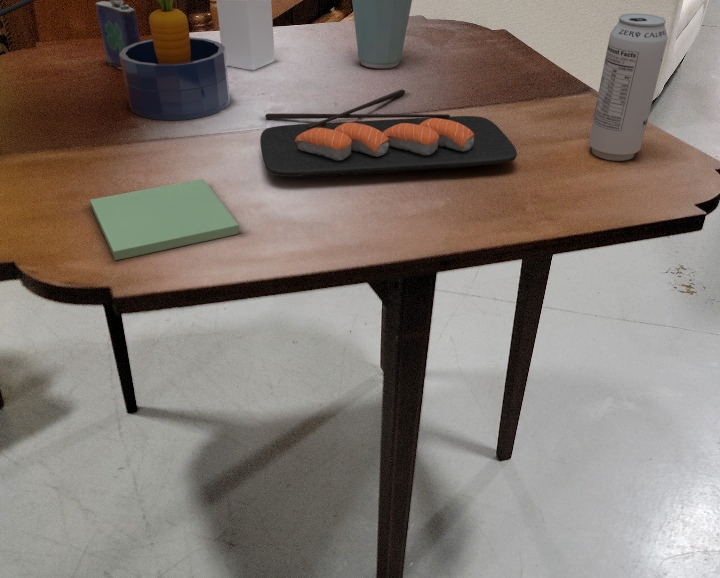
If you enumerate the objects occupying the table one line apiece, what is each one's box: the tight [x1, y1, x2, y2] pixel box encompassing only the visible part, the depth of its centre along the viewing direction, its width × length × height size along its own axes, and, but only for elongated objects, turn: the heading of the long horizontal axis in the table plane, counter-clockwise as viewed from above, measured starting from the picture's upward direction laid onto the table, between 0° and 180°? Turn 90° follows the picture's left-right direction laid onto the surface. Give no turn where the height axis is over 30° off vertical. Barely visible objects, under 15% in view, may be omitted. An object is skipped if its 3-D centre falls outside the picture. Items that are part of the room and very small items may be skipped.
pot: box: [119, 36, 231, 121], centre depth 99 cm, size 14×14×7 cm
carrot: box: [148, 0, 191, 64], centre depth 97 cm, size 5×5×15 cm
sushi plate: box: [259, 89, 518, 178], centre depth 91 cm, size 29×30×4 cm
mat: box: [89, 178, 240, 261], centre depth 73 cm, size 12×12×1 cm
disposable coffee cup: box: [351, 0, 413, 69], centre depth 112 cm, size 11×11×15 cm
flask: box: [94, 0, 142, 70], centre depth 111 cm, size 9×3×11 cm, turn 46°
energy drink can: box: [588, 13, 669, 162], centre depth 83 cm, size 6×6×15 cm
